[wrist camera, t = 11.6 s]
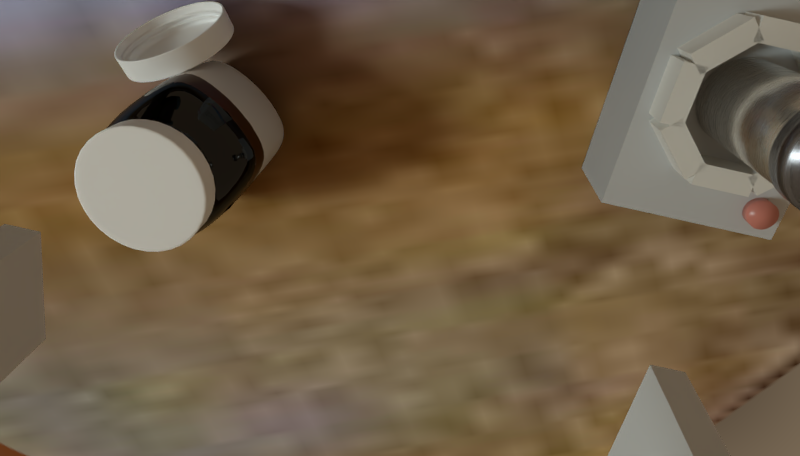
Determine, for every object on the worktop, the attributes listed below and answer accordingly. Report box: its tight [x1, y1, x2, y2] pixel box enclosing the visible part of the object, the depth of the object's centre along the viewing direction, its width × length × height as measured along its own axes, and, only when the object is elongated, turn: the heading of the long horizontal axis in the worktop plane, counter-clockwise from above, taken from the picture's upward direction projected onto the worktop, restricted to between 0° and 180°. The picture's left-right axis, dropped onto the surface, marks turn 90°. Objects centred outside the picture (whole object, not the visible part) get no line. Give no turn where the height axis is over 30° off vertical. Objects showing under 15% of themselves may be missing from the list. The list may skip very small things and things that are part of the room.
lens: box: [696, 57, 800, 210], centre depth 28 cm, size 5×5×10 cm
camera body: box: [582, 0, 800, 240], centre depth 34 cm, size 14×10×8 cm
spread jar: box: [74, 1, 284, 252], centre depth 36 cm, size 12×11×12 cm
